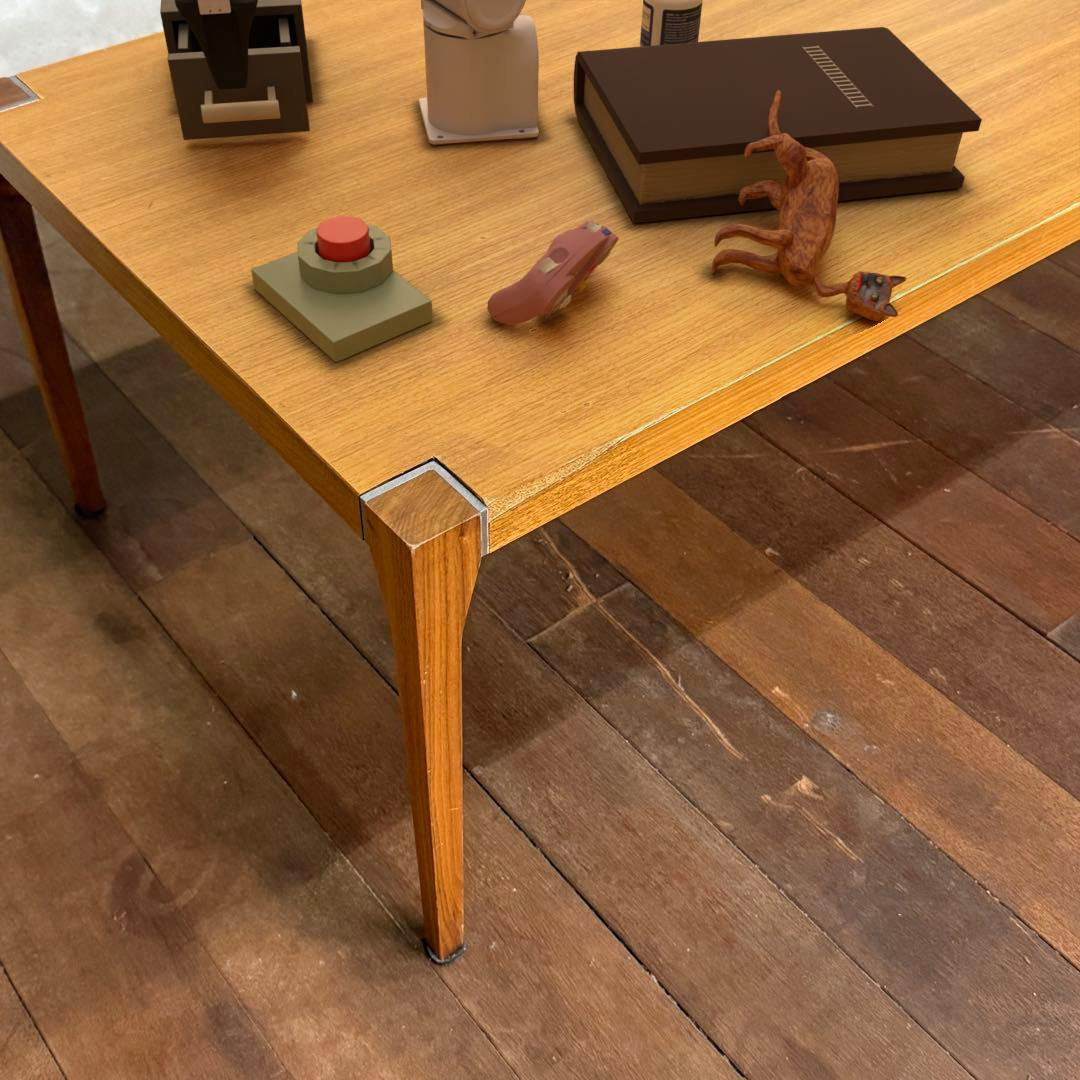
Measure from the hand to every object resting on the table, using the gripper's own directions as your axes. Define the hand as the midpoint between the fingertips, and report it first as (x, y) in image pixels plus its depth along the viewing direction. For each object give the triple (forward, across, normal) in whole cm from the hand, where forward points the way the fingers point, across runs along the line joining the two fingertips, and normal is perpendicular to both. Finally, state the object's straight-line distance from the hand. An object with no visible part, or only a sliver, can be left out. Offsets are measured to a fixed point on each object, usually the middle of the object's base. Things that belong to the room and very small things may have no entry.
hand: (231, 73), depth 91 cm
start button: (+6, +15, +7) cm, 18 cm away
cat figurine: (+5, +13, +36) cm, 38 cm away
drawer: (+8, -11, 0) cm, 14 cm away
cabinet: (+9, -20, 0) cm, 23 cm away
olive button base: (+9, +18, +6) cm, 21 cm away
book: (+9, 0, +43) cm, 44 cm away
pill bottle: (+10, -16, +39) cm, 43 cm away
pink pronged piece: (+10, +20, +21) cm, 30 cm away
